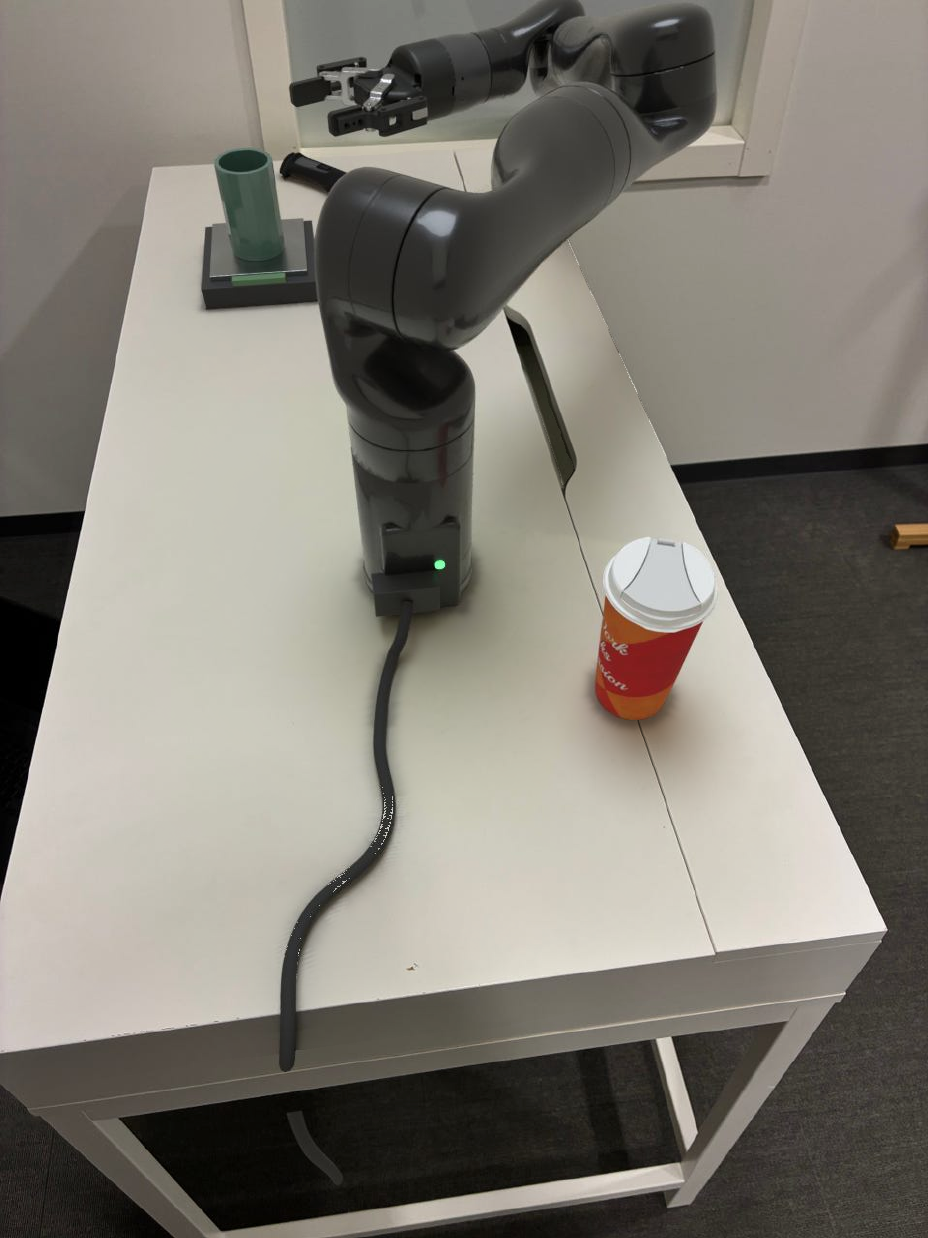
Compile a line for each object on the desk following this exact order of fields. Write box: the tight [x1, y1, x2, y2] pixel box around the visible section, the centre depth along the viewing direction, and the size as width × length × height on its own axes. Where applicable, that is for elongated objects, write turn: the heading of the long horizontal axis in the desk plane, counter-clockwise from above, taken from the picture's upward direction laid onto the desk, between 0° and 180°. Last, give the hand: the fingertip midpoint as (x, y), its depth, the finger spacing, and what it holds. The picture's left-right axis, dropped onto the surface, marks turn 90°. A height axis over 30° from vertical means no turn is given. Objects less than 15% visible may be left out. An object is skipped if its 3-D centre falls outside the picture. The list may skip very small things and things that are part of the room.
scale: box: [200, 217, 318, 310], centre depth 105 cm, size 14×13×3 cm
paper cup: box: [594, 536, 719, 721], centre depth 64 cm, size 8×8×14 cm
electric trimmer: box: [279, 151, 348, 193], centre depth 118 cm, size 4×16×3 cm, turn 55°
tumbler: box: [213, 147, 285, 262], centre depth 100 cm, size 6×6×10 cm
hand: (310, 109), depth 92 cm, fingers open, 8 cm apart
